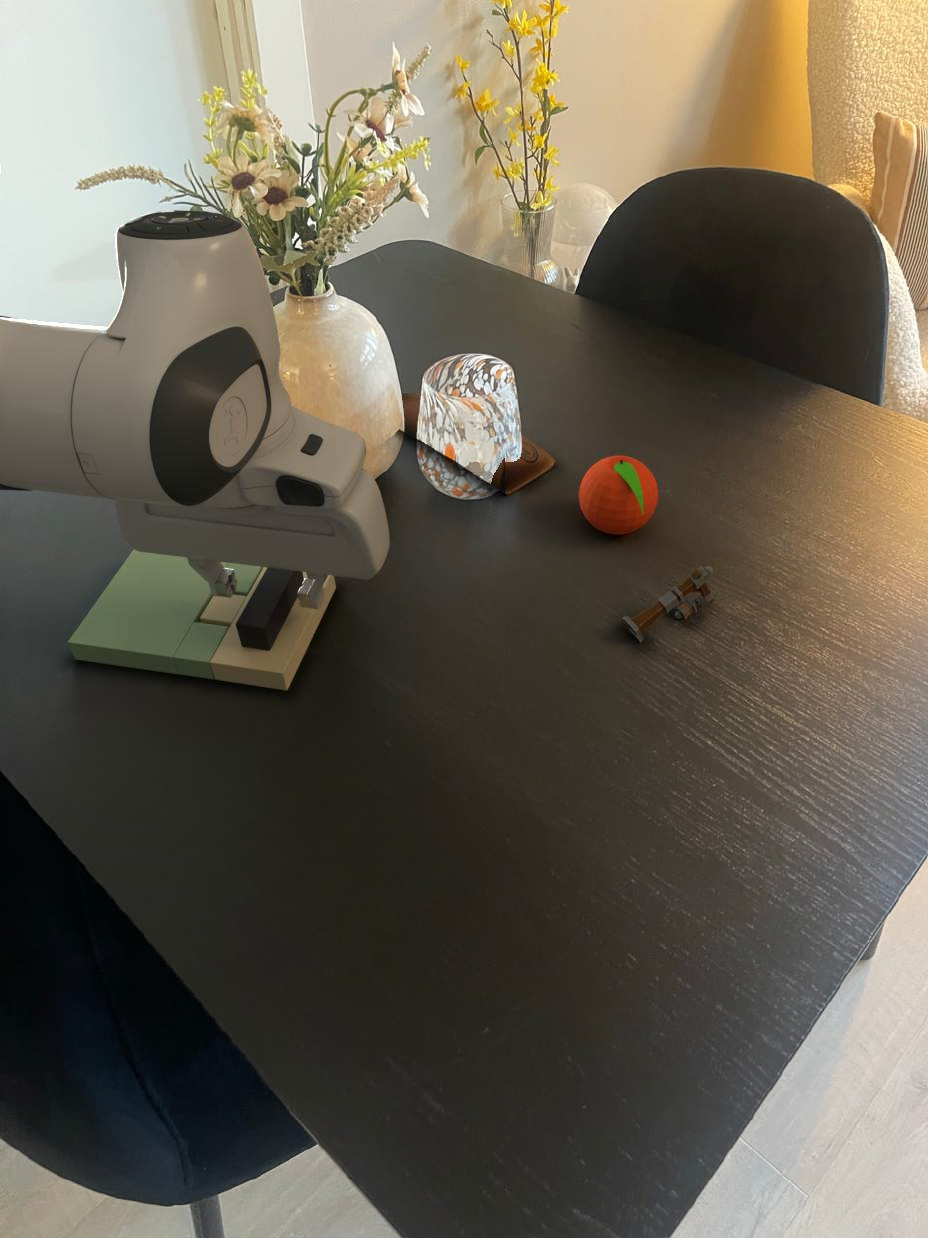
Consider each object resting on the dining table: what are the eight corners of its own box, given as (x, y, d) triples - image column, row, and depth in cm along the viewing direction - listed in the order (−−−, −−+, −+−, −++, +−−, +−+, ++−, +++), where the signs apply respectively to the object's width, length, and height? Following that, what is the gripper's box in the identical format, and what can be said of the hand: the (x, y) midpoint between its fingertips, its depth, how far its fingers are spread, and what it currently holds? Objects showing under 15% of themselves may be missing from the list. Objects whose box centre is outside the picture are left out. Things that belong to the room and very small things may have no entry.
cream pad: (287, 691, 73) (277, 650, 70) (181, 674, 75) (167, 634, 72) (336, 587, 82) (329, 547, 78) (240, 575, 83) (230, 534, 80)
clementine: (673, 546, 84) (684, 480, 79) (602, 565, 82) (608, 499, 78) (631, 495, 90) (639, 431, 85) (564, 513, 88) (567, 448, 83)
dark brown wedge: (563, 458, 93) (540, 422, 88) (519, 515, 93) (494, 482, 87) (440, 392, 103) (412, 355, 97) (400, 442, 103) (370, 408, 97)
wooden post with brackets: (727, 599, 78) (716, 568, 74) (649, 658, 78) (634, 629, 74) (713, 586, 79) (702, 555, 75) (636, 644, 79) (621, 615, 75)
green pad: (214, 679, 74) (208, 662, 73) (75, 659, 76) (67, 642, 75) (268, 579, 83) (264, 561, 81) (141, 563, 85) (135, 545, 83)
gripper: (75, 462, 65) (130, 608, 75) (360, 492, 62) (380, 642, 71) (117, 412, 70) (164, 557, 79) (386, 438, 66) (402, 586, 76)
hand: (269, 597), depth 75 cm, fingers open, 6 cm apart
